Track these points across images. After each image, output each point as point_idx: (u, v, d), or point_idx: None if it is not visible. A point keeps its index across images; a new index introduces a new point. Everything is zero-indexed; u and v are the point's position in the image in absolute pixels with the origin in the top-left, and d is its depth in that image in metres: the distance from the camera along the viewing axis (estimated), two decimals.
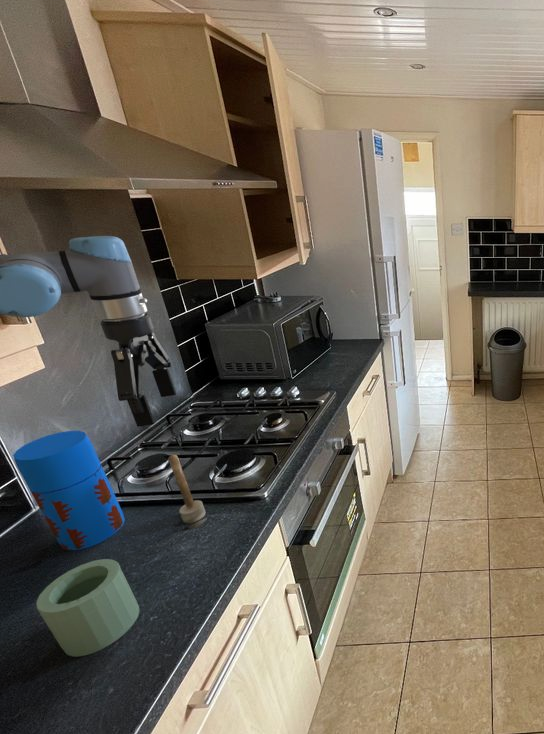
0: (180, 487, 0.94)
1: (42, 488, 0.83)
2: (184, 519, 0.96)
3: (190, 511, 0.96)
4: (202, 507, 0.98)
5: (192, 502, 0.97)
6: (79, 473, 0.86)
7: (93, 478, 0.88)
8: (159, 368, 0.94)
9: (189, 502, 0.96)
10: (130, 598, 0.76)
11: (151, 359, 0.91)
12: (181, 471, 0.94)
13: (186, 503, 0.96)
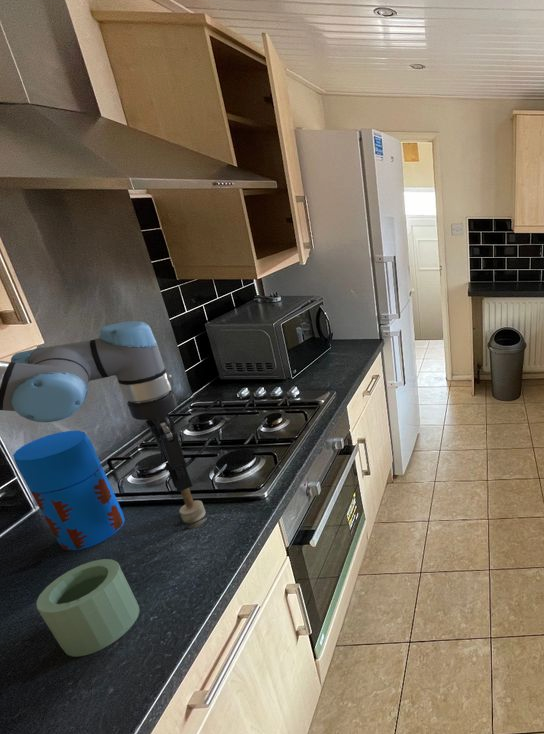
0: None
1: (42, 488, 0.83)
2: (184, 519, 0.96)
3: (190, 511, 0.96)
4: (202, 507, 0.98)
5: (192, 502, 0.97)
6: (79, 473, 0.86)
7: (93, 478, 0.88)
8: None
9: (189, 502, 0.96)
10: (130, 598, 0.76)
11: None
12: None
13: (186, 503, 0.96)
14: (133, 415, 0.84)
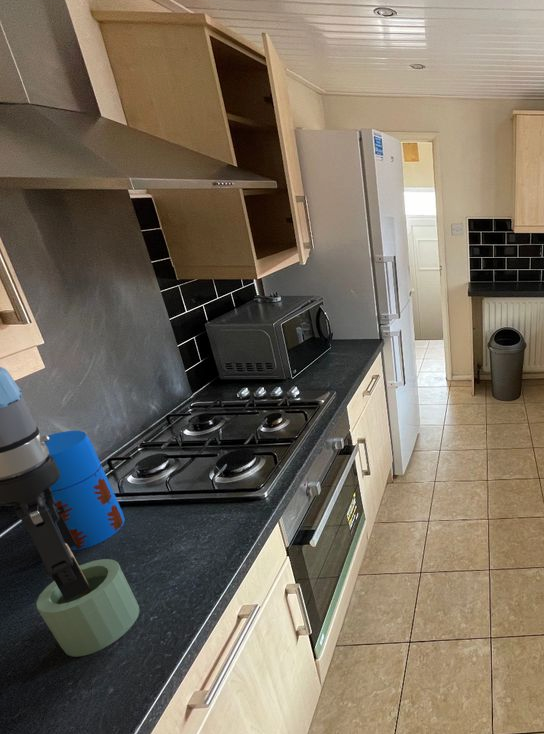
0: None
1: None
2: None
3: None
4: None
5: None
6: (79, 473, 0.86)
7: (93, 478, 0.88)
8: None
9: None
10: (130, 598, 0.76)
11: None
12: None
13: None
14: None
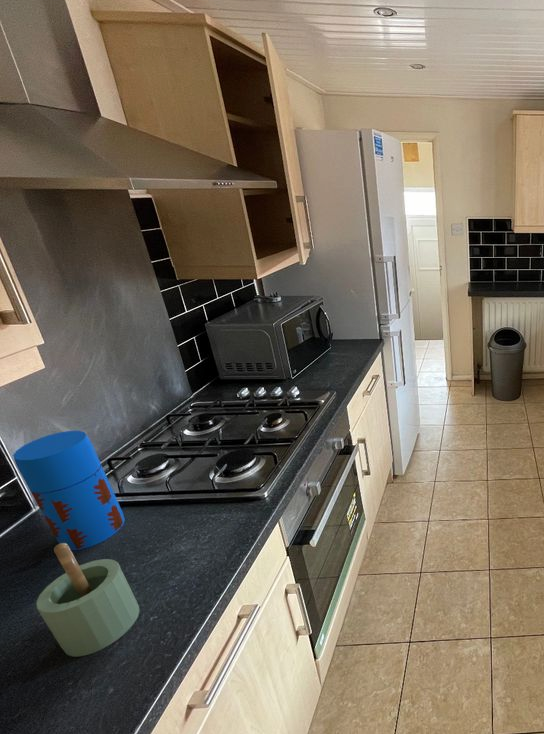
0: (74, 584, 0.70)
1: (42, 488, 0.83)
2: None
3: None
4: None
5: None
6: (79, 473, 0.86)
7: (93, 478, 0.88)
8: None
9: None
10: (130, 598, 0.76)
11: None
12: (74, 564, 0.70)
13: None
14: None
